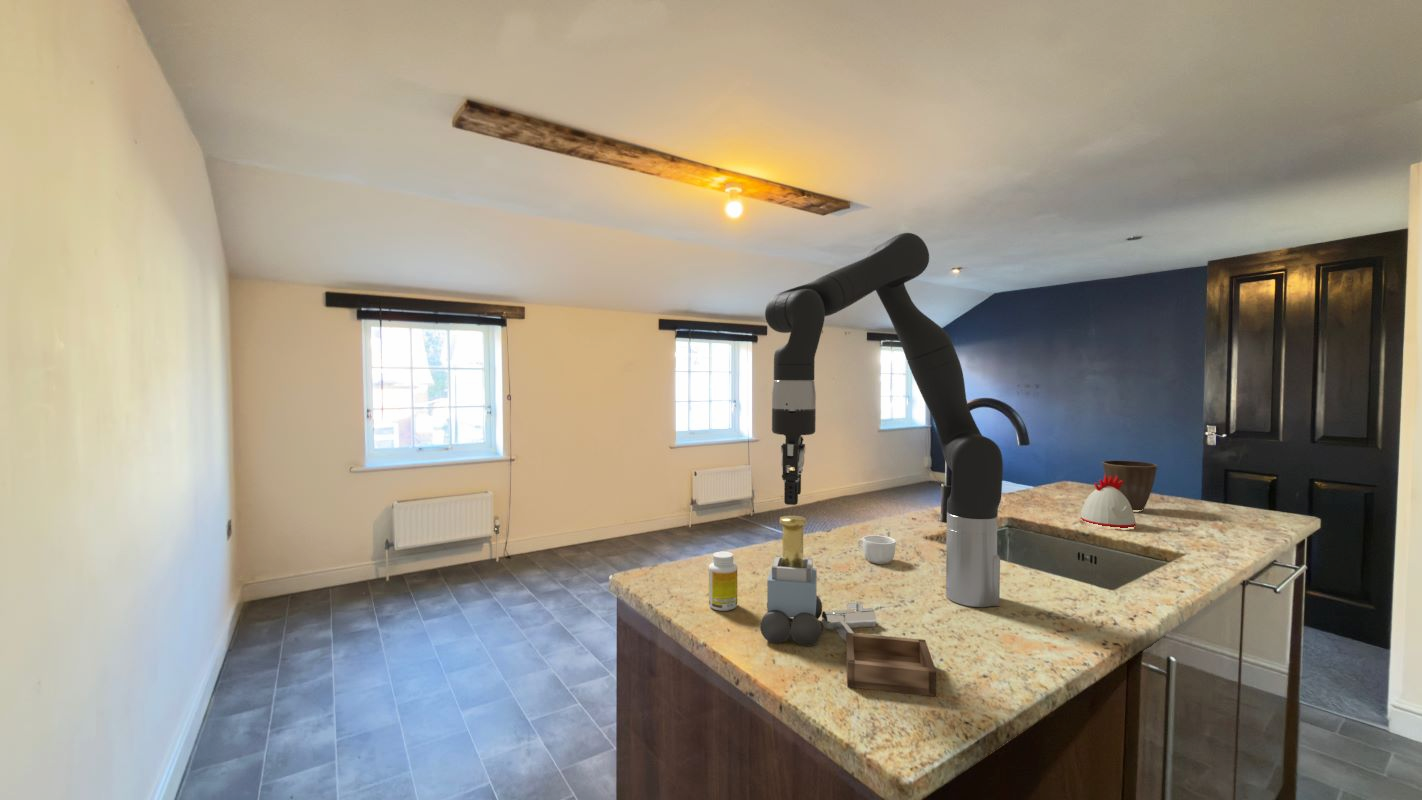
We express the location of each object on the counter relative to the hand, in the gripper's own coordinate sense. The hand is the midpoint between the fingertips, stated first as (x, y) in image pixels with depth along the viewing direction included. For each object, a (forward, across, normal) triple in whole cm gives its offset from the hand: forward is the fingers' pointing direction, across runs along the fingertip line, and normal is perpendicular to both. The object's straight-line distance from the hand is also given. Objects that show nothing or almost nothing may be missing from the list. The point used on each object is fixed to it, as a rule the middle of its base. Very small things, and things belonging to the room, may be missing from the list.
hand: (792, 499), depth 99 cm
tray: (+23, +12, +15) cm, 30 cm away
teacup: (+24, -44, +17) cm, 53 cm away
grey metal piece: (+24, -1, +11) cm, 26 cm away
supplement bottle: (+24, -8, -14) cm, 28 cm away
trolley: (+23, 0, 0) cm, 23 cm away
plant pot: (+23, -118, +105) cm, 160 cm away
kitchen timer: (+23, -95, +89) cm, 132 cm away
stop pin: (+13, 0, 0) cm, 13 cm away
